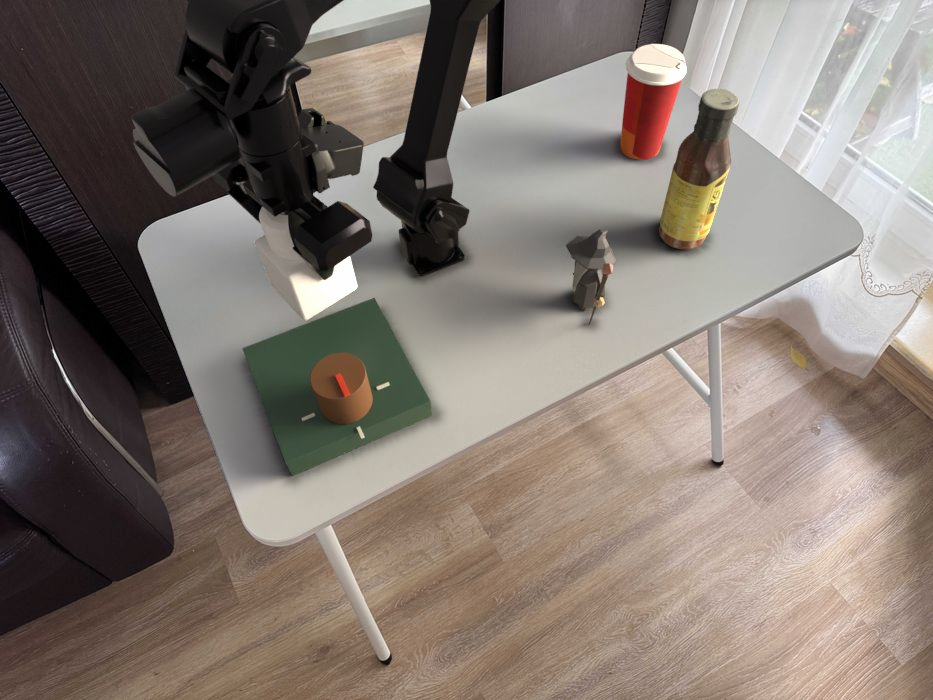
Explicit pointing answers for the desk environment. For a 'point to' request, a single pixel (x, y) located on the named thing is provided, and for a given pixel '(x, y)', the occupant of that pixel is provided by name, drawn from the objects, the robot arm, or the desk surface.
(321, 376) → the rotary dial knob
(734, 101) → the sauce bottle
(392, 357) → the rotary dial base
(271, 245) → the medicine bottle
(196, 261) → the desk surface
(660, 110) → the paper cup
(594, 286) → the wizard figurine
